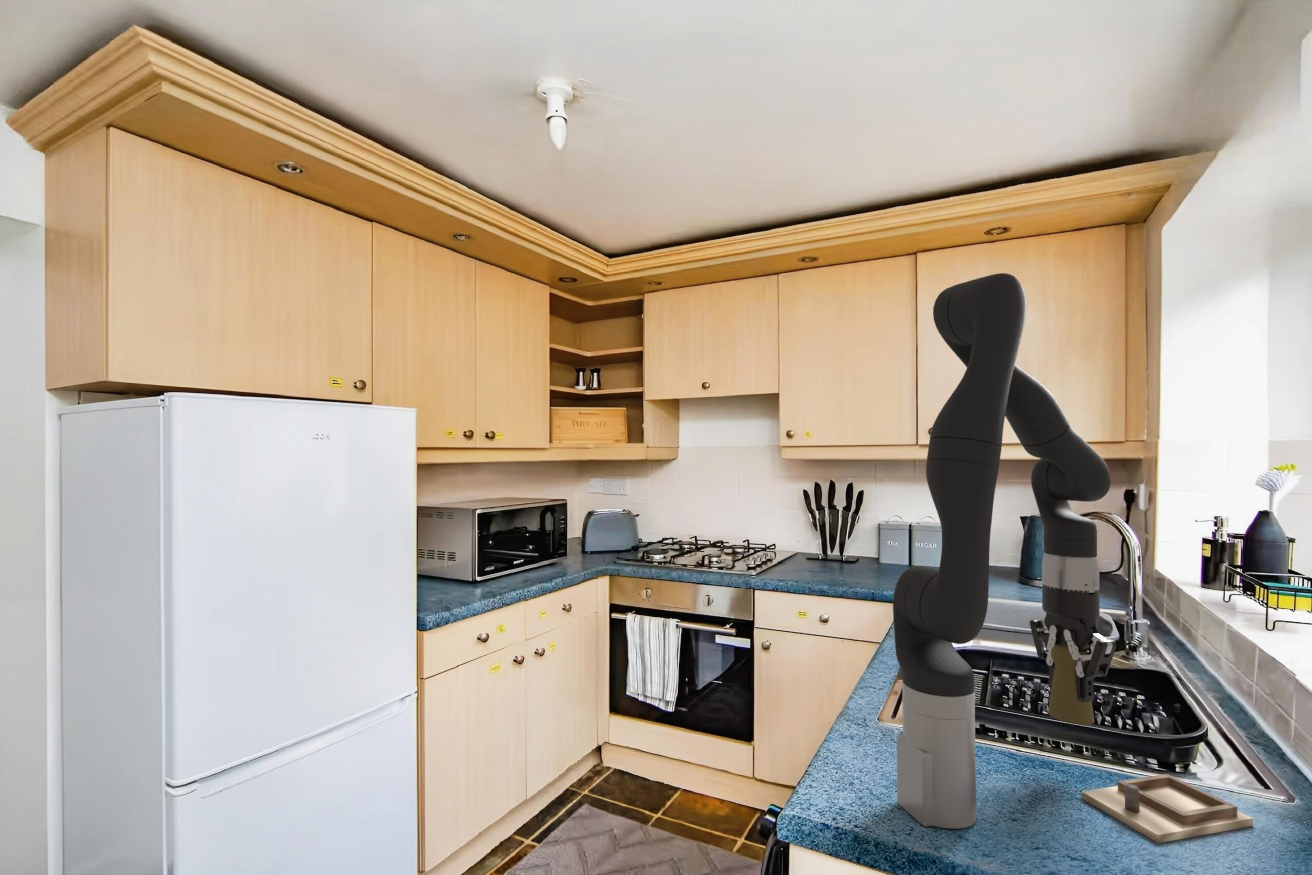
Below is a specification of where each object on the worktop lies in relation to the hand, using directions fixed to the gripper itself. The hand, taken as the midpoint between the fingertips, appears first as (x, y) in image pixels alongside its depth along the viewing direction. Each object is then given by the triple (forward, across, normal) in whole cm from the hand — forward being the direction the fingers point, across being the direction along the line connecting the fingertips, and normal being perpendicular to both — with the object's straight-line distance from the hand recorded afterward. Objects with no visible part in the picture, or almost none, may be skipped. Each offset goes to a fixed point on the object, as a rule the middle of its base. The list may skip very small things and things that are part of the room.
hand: (1070, 694), depth 100 cm
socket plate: (+12, +12, +4) cm, 17 cm away
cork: (+4, 0, 0) cm, 4 cm away
